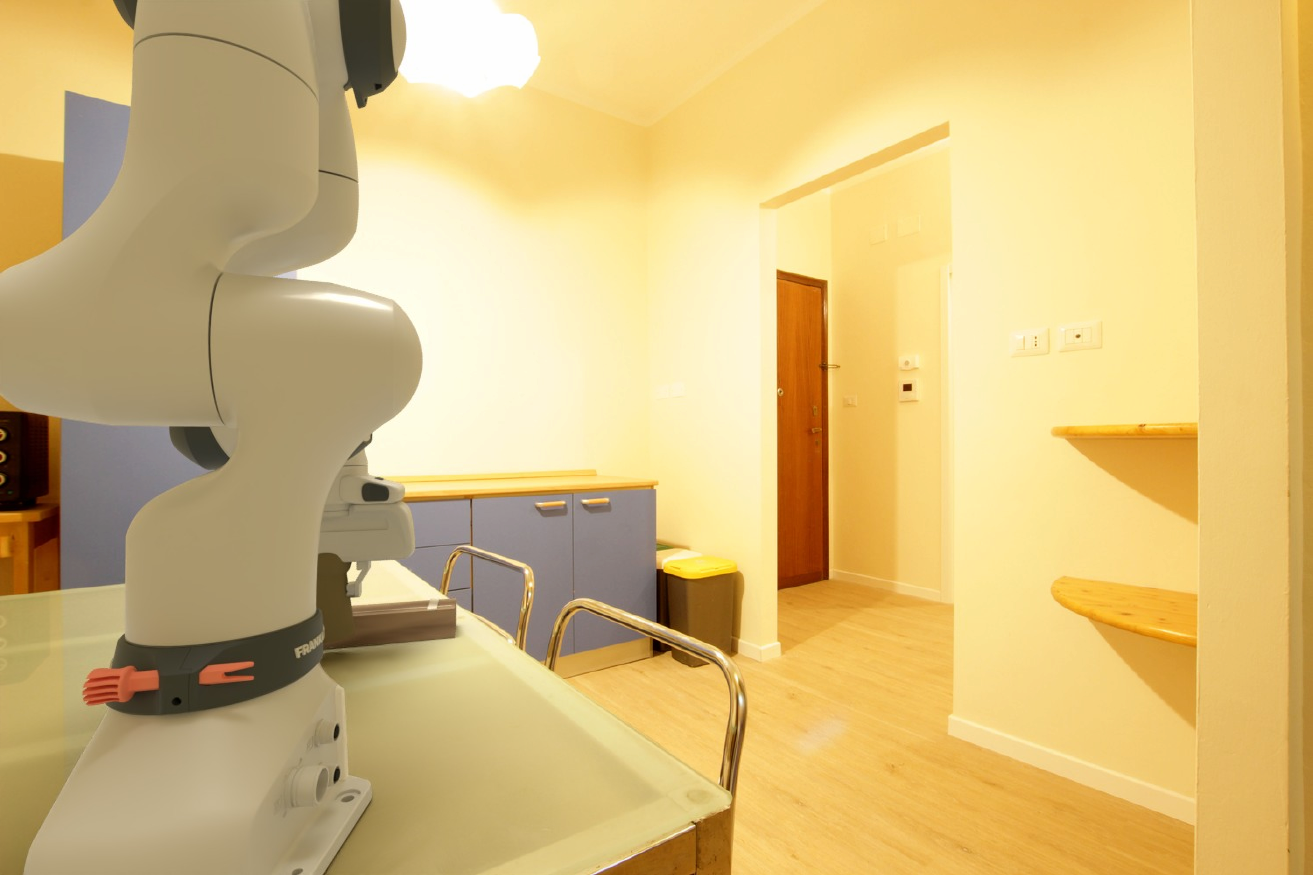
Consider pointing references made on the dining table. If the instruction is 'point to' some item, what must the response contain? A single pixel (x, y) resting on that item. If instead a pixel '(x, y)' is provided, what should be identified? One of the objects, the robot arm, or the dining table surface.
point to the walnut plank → (400, 622)
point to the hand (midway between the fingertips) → (328, 598)
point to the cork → (334, 597)
